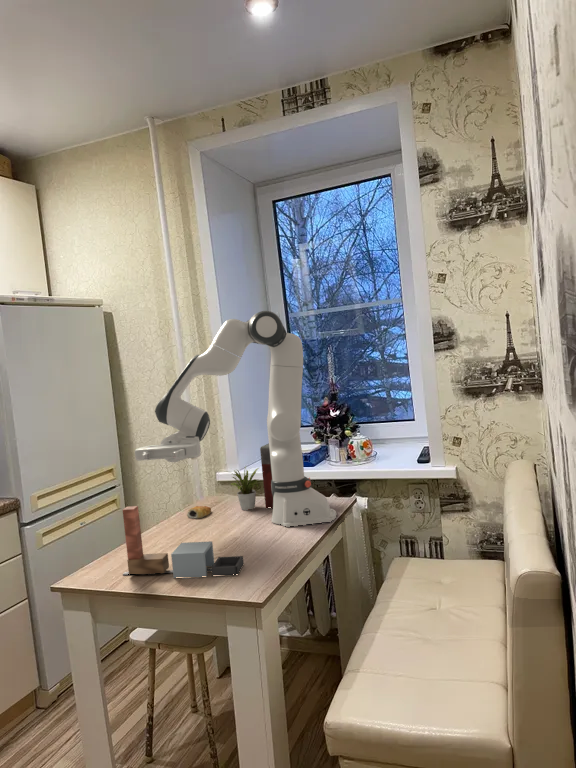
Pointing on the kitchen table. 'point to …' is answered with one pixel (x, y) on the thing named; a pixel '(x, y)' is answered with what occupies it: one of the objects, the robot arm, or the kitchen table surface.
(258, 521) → the kitchen table surface
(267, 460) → the toy vending machine
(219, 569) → the dark grey tray
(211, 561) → the tunnel
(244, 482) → the house plant
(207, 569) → the rail
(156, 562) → the upright post on base
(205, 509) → the pastry
